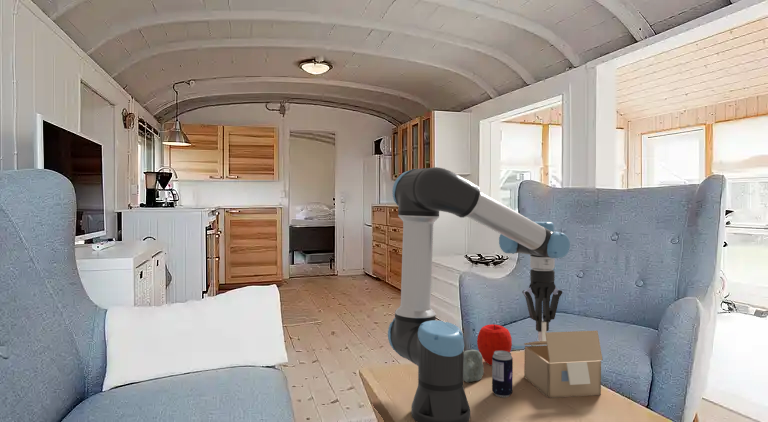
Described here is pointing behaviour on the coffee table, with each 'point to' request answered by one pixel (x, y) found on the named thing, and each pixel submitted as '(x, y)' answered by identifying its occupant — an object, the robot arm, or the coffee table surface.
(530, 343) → the far flap
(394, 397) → the coffee table surface
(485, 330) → the apple
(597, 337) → the near flap
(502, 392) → the beverage can
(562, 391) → the carton
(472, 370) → the decorative stone
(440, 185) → the robot arm
